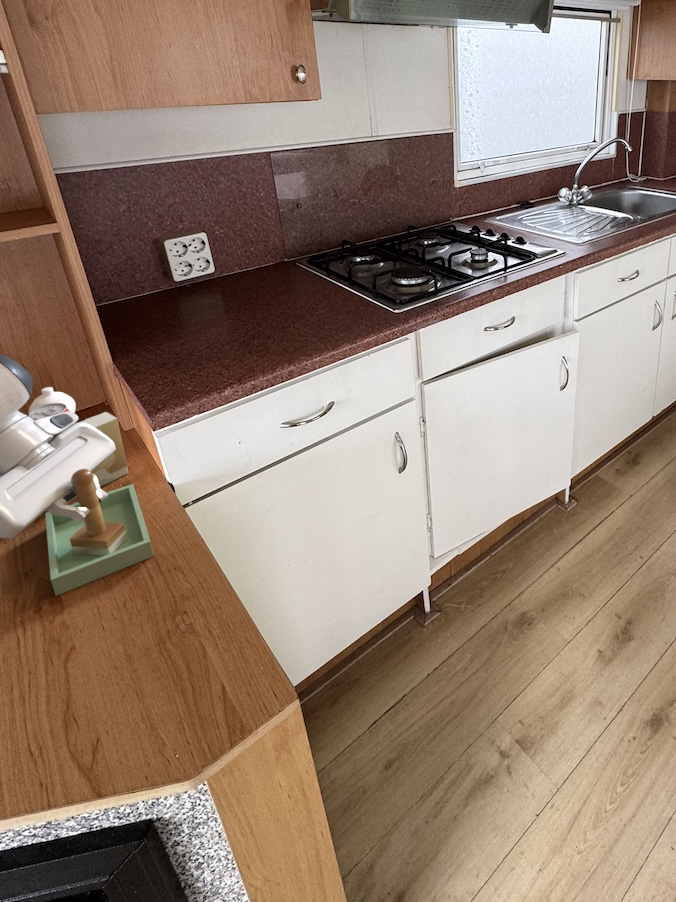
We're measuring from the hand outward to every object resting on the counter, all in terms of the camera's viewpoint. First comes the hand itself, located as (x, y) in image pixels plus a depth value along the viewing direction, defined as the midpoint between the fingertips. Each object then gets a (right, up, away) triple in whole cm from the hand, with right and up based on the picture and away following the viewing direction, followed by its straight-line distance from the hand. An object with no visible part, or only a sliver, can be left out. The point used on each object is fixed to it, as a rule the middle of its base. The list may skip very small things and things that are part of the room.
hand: (94, 508), depth 90 cm
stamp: (-1, -7, +3) cm, 7 cm away
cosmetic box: (-11, -1, +20) cm, 23 cm away
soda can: (-22, 0, +23) cm, 32 cm away
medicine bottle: (-17, -3, +14) cm, 22 cm away
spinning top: (-29, +3, +31) cm, 42 cm away
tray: (-2, -7, +4) cm, 8 cm away
